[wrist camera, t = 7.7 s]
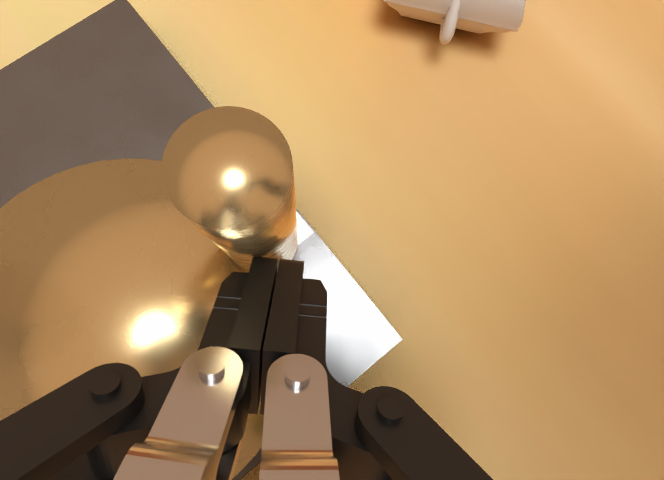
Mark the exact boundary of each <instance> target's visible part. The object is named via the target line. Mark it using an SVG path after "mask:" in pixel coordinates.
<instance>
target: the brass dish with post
mask: <svg viewBox="0 0 664 480" xmlns="http://www.w3.org/2000/svg"><path fill="white" fill-rule="evenodd" d="M297 246H298V232H297V218H296V204H295V190H294V176H293V163H292V155H291V151H290V148H289V145H288V143H287V141H286V139H285V137H284V136H283V134H282V133H281V131H280V130H279V129H278V128H277V127H276V126H275V125H274V124H273V123H272V122H271V121H270V120H268V119H267V118H266V117H264V116H262V115H261V114H259V113H257V112H254V111H252V110H249V109H245V108H240V107H230V106H225V107H216V108H211V109H208V110H205V111H202V112H200V113H198V114H196V115H194V116H192V117H191V118H189V119H188V120H186V121H185V122H184V123H183V124H181V125H180V126H179V128H178V129H177V130H176V131H175V132H174V133H173V135H172V136H171V138H170V139H169V141H168V143H167V145H166V148H165V150H164V153H163V158H162V161H158V160H151V159H127V158H124V159H114V160H104V161H98V162H93V163H89V164H84V165H80V166H76V167H74V168H71V169H68V170H65V171H62V172H59V173H56V174H54V175H52V176H50V177H48V178H46V179H44V180H42V181H40V182H38V183H35V184H34V185H32V186H31V187H29V188H27V189H26V190H24V191H23V192H21V193H19V194H18V195H16V196H15V197H13V198H12V199H11V200H10V201H8V202H7V203H6V204H5V205H3V206H2V207H1V208H0V421H1V420H3V419H4V418H6V417H8V416H10V415H11V414H13V413H15V412H17V411H18V410H20V409H22V408H24V407H25V406H27V405H29V404H31V403H32V402H34V401H36V400H38V399H39V398H41V397H43V396H45V395H46V394H48V393H50V392H52V391H53V390H55V389H57V388H59V387H61V386H62V385H64V384H66V383H68V382H69V381H71V380H73V379H75V378H76V377H78V376H80V375H82V374H83V373H85V372H87V371H89V370H91V369H93V368H95V367H97V366H100V365H103V364H108V363H124V364H127V365H130V366H132V367H134V368H135V369H136V370H137V371H138V372H139V374H140V376H141V377H144V376H149V375H155V374H160V373H165V372H169V371H172V370H175V369H177V368H179V367H181V366H182V364H183V363H184V361H185V360H186V359H187V358H188V357H189V356H190V355H191V354H193V353H194V352H196V351H197V350H198V348H199V346H200V343H201V340H202V337H203V334H204V331H205V328H206V326H207V323H208V320H209V317H210V314H211V311H212V309H213V306H214V303H215V300H216V298H217V294H218V292H219V289H220V286H221V283H222V282H223V281H224V280H225V279H226V278H227V277H228V276H229V275H230V274H231V273H232V272H243V273H249V269H250V266H251V262H252V259H253V257H268V258H278V260H279V261H280V259H289V260H292V259H293V257H294V255H295V253H296V250H297ZM278 266H279V262H278ZM260 404H261V397H260V403H259V409H258V414H248V417H247V422H246V428H245V432H244V435H243V441H242V446H241V450H240V453H239V457H238V460H237V464H236V468H235V471H234V475H233V478H234V477H235V476H236V475H237V474H238V473H239V472H240V471H241V470H242V469H243V468H244V467H245V466H246V465H247V464H248V463H249V462H250V461H251V460H252V458H253V457H254V456H255V455H256V454H257V452H258V451H259V450H260V448H261V447H262V436H263V422H264V415H262V414H260ZM233 478H232V479H233Z"/></svg>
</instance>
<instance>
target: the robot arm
mask: <svg viewBox="0 0 664 480" xmlns="http://www.w3.org/2000/svg"><path fill="white" fill-rule="evenodd" d="M278 262H279V266H278ZM303 271H304V261H299V260H289V259H280V261H279V260H278V258H268V257H253V259H252V262H251V266H250V269H249V273H243V272H232V273H231V274H230V275H229V276H228V277H227V278H226V279H225V280H224V281H223V282H222V283H221V286H220V289H219V292H218V294H217V298H216V300H215V303H214V306H213V309H212V311H211V314H210V317H209V320H208V323H207V326H206V328H205V331H204V334H203V337H202V340H201V343H200V346H199V348H198V350H197V351H196V352H194V353H193V354H191V355H190V356H189V357H188V358H187V359H186V360H185V361H184V363H183V364H182V366H181V367H179V368H177V369H175V370H172V371H169V372H165V373H160V374H155V375H149V376H144V377H141V376H140V374H139V372H138V371H137V370H136V369H135V368H134V367H132V366H130V365H127V364H124V363H108V364H103V365H100V366H97V367H95V368H93V369H91V370H89V371H87V372H85V373H83V374H82V375H80V376H78V377H76V378H75V379H73V380H71V381H69V382H68V383H66V384H64V385H62V386H61V387H59V388H57V389H55V390H53V391H52V392H50V393H48V394H46V395H45V396H43V397H41V398H39V399H38V400H36V401H34V402H32V403H31V404H29V405H27V406H25V407H24V408H22V409H20V410H18V411H17V412H15V413H13V414H11V415H10V416H8V417H6V418H4V419H3V420H1V421H0V480H232V478H233V475H234V471H235V468H236V464H237V460H238V457H239V453H240V450H241V446H242V441H243V435H244V432H245V428H246V422H247V417H248V414H258V409H259V403H260V397H261V404H260V414H262V415H264V422H263V436H262V450H261V460H260V472H259V480H493V479H492V478H491V477H490V476H489V475H488V474H487V473H486V472H485V471H484V470H483V469H482V468H481V467H480V466H479V465H478V464H477V463H476V462H475V461H474V460H473V459H472V458H471V457H470V456H469V455H468V454H467V453H466V452H465V451H464V450H463V449H462V448H461V447H460V446H459V445H458V444H457V443H456V442H455V441H454V440H453V439H452V438H451V437H450V436H449V435H448V434H447V433H446V432H445V431H444V430H443V429H442V428H441V427H440V426H439V425H438V424H437V423H436V422H435V421H434V420H433V419H432V418H431V417H430V416H429V415H428V414H427V413H426V412H425V411H424V410H423V409H422V408H421V407H420V406H419V405H418V404H417V403H416V402H415V401H414V400H413V399H412V398H411V397H409V396H408V395H407V394H406V393H404V392H403V391H400V390H398V389H396V388H393V387H387V386H381V387H375V388H372V389H370V390H368V391H367V392H365V393H364V394H363V393H361V392H358V391H355V390H353V389H350V388H348V387H346V386H344V385H342V384H341V383H339V382H338V381H337V380H335V378H334V377H333V376H332V375H331V374H330V372H329V370H328V368H327V365H326V328H327V290H326V289H325V287H324V285H323V283H322V281H321V280H317V279H306V278H303Z"/></svg>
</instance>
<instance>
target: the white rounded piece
mask: <svg viewBox="0 0 664 480" xmlns="http://www.w3.org/2000/svg"><path fill="white" fill-rule="evenodd" d="M383 1H384V2H386V3H387V4H388V5H389V6H390V7H392V8H393V9H395V10H396V11H398V12H399V14H400V15H401V16H405V17H410V18H414V19H418V20H423V21H427V22H431V23H436V24H440V25H441V28H440V35H439V39H440V42H441V44H443V45H446V44H448V43H449V42H450V41H451V39H452V37H453V35H454V32H455V28H457V29H462V30H466V31H470V32H475V33H479V34H482V33H485V32H510V31H518V29H519V27H520V25H521V23H522V20H523V14H524V8H525V1H526V0H383Z"/></svg>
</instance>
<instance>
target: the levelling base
mask: <svg viewBox="0 0 664 480" xmlns="http://www.w3.org/2000/svg"><path fill="white" fill-rule="evenodd" d="M211 108H214V107H213V105H212V104H211V103H210V102H209V100H208V99H207V98H206V97H205V96H204V94H203V93H202V92H201V91H200V89H199V88H198V87H197V86H196V84H195V83H194V82H193V81H192V80H191V78H190V77H189V76H188V75H187V73H186V72H185V71H184V70H183V68H182V67H181V66H180V65H179V63H178V62H177V61H176V60H175V59H174V57H173V56H172V55H171V54H170V52H169V51H168V50H167V49H166V47H165V46H164V45H163V44H162V43H161V41H160V40H159V39H158V38H157V36H156V35H155V34H154V33H153V31H152V30H151V29H150V28H149V27H148V25H147V24H146V23H145V22H144V20H143V19H142V18H141V17H140V15H139V14H138V13H137V12H136V11H135V9H134V8H133V7H132V6H131V4H130V3H129V2H128V1H127V0H115V1H113V2H112V3H110V4H108V5H107V6H105V7H103V8H102V9H100V10H98V11H97V12H95V13H93V14H92V15H90V16H88V17H87V18H85V19H83V20H82V21H80V22H79V23H77V24H75V25H74V26H72V27H70V28H69V29H67V30H65V31H64V32H62V33H60V34H59V35H57V36H55V37H54V38H52V39H50V40H49V41H47V42H46V43H44V44H42V45H41V46H39V47H37V48H36V49H34V50H32V51H31V52H29V53H27V54H26V55H24V56H22V57H21V58H19V59H17V60H16V61H14V62H12V63H11V64H9V65H8V66H6V67H4V68H3V69H1V70H0V208H1V207H2V206H3V205H5V204H6V203H7V202H8V201H10V200H11V199H12V198H13V197H15V196H16V195H18V194H19V193H21V192H23V191H24V190H26V189H27V188H29V187H31V186H32V185H34V184H35V183H38V182H40V181H42V180H44V179H46V178H48V177H50V176H52V175H54V174H56V173H59V172H62V171H65V170H68V169H71V168H74V167H76V166H80V165H84V164H89V163H93V162H98V161H104V160H114V159H124V158H127V159H151V160H158V161H162V158H163V153H164V150H165V148H166V145H167V143H168V141H169V139H170V138H171V136H172V135H173V133H174V132H175V131H176V130H177V129H178V128H179V126H180V125H181V124H183V123H184V122H185V121H186V120H188V119H189V118H191V117H192V116H194V115H196V114H198V113H200V112H202V111H205V110H208V109H211ZM296 218H297V232H298V246H297V250H296V253H295V255H294V257H293V259H292V260H299V261H304V271H303V278H306V279H317V280H321V281H322V283H323V285H324V287H325V289H326V290H327V328H326V365H327V368H328V370H329V372H330V374H331V375H332V376H333V377H334V378H335V380H337V381H338V382H339V383H341V384H342V385H344V386H346V387H348V386H349V385H350V384H351V383H352V382H354V381H355V380H356V379H357V378H358V377H359V376H361V375H362V374H363V373H364V372H365V371H366V370H368V369H369V368H370V367H371V366H372V365H373V364H374V363H376V362H377V361H378V360H379V359H380V358H381V357H383V356H384V355H385V354H386V353H387V352H388V351H390V350H391V349H392V348H393V347H394V346H395V345H396V344H398V343H399V342H400V341H401V340H402V338H401V337H400V336H399V334H398V333H397V332H396V331H395V329H394V328H393V327H392V326H391V325H390V323H389V322H388V321H387V320H386V318H385V317H384V316H383V315H382V313H381V312H380V311H379V310H378V308H377V307H376V306H375V305H374V304H373V302H372V301H371V300H370V299H369V297H368V296H367V295H366V294H365V292H364V291H363V290H362V289H361V288H360V286H359V285H358V284H357V283H356V281H355V280H354V279H353V278H352V276H351V275H350V274H349V273H348V272H347V270H346V269H345V268H344V267H343V265H342V264H341V263H340V262H339V260H338V259H337V258H336V257H335V256H334V254H333V253H332V252H331V251H330V249H329V248H328V247H327V246H326V244H325V243H324V242H323V241H322V240H321V238H320V237H319V236H318V235H317V233H316V232H315V231H314V230H313V228H312V227H311V226H310V225H309V224H308V222H307V221H306V220H305V219H304V217H303V216H302V215H301V214H300V212H299V211H298V210H297V209H296ZM261 450H262V447H261V448H260V450H259V451H258V452H257V454H256V455H255V456H254V457H253V458H252V460H251V461H250V462H249V463H248V464H247V465H246V466H245V467H244V468H243V469H242V470H241V471H240V472H239V473H238V474H237V475H236V476H235V477H234V478H233V479H232V480H240V479H241V478H243V477H244V476H245V475H246V474H247V473H248V472H249V471H251V470H252V469H253V468H254V467H255V466H256V465H258V464H259V463H260V460H261Z"/></svg>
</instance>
